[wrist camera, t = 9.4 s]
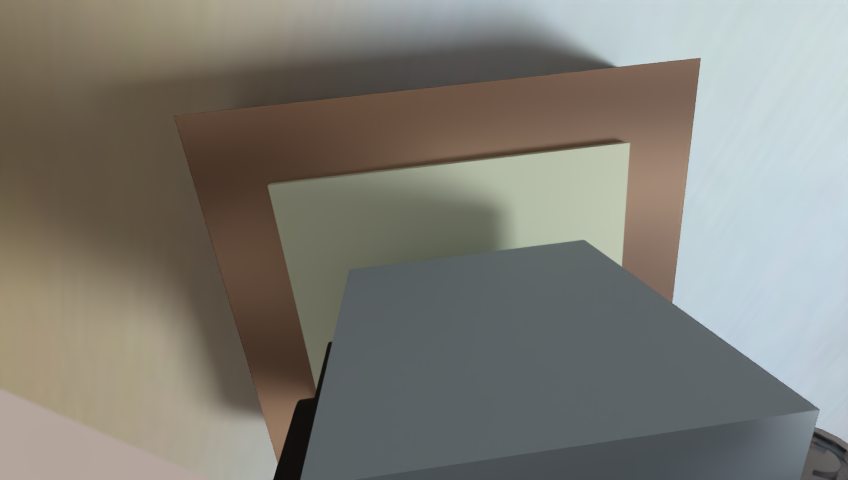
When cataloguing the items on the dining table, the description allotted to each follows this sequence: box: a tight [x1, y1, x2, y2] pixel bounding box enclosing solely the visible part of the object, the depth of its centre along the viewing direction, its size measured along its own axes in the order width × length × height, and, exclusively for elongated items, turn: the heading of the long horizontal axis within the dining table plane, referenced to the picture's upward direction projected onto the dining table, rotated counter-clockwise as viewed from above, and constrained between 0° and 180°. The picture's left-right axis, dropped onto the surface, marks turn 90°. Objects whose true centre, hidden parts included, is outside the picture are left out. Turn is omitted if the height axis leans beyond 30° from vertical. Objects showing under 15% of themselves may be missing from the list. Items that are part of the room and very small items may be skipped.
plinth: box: [174, 58, 701, 462], centre depth 15 cm, size 14×14×4 cm
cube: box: [300, 240, 820, 480], centre depth 8 cm, size 6×6×6 cm
